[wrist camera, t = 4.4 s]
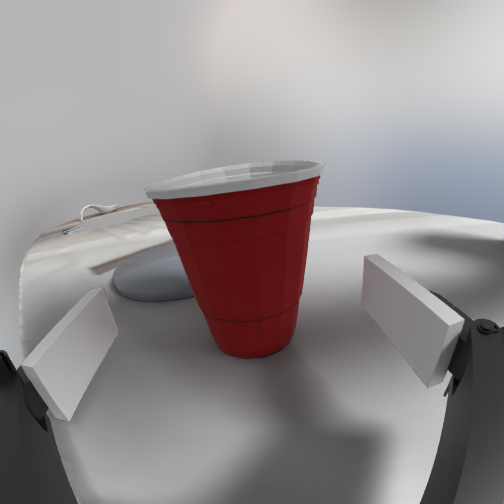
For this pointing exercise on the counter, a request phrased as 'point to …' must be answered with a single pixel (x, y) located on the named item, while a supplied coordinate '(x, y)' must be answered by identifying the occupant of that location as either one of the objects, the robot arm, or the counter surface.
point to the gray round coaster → (153, 276)
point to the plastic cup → (243, 247)
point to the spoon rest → (99, 209)
